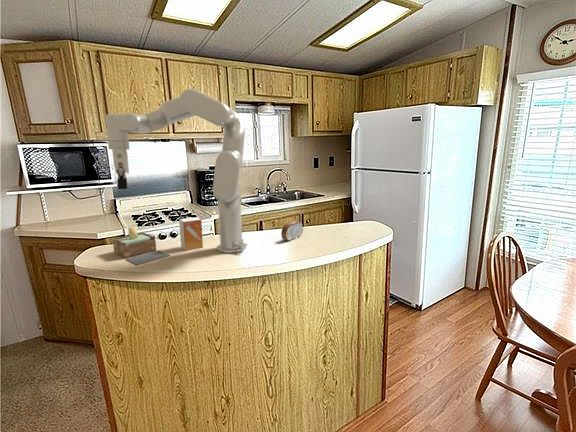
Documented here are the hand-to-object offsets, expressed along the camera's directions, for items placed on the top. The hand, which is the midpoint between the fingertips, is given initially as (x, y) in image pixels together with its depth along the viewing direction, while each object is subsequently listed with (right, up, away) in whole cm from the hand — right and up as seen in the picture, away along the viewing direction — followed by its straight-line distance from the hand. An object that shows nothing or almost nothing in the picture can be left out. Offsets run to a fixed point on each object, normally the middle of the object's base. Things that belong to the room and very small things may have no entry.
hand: (122, 187), depth 134 cm
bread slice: (+71, -23, +21) cm, 78 cm away
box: (+4, -27, +3) cm, 28 cm away
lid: (+3, -22, +3) cm, 23 cm away
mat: (+12, -29, -4) cm, 32 cm away
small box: (+26, -26, +9) cm, 38 cm away
